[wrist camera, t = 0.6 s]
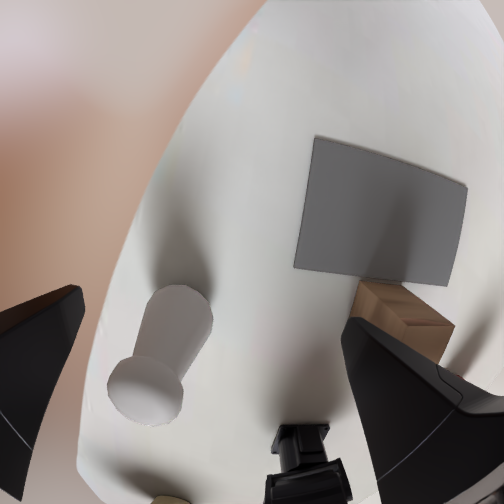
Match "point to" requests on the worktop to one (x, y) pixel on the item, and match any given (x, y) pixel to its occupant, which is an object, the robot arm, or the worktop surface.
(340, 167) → the rubber mat
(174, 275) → the worktop surface
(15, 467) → the robot arm
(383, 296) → the walnut block
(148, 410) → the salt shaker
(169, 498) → the plant pot
